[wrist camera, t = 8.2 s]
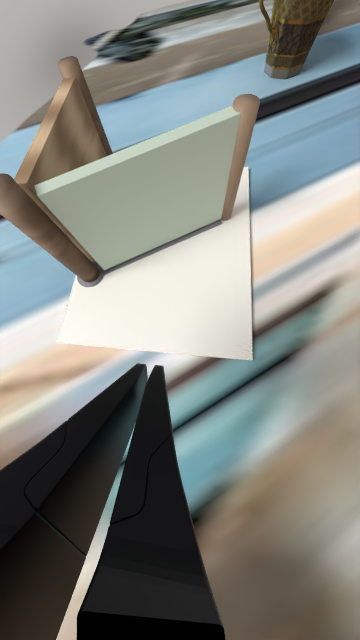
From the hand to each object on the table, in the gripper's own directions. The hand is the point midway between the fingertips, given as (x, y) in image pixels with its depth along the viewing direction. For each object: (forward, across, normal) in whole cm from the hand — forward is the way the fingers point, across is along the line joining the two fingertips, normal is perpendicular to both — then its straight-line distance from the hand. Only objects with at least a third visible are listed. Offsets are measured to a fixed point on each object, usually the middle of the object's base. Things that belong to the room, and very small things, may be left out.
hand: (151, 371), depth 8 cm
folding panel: (+18, +2, -5) cm, 19 cm away
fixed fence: (+20, +12, -7) cm, 25 cm away
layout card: (+18, +3, -4) cm, 19 cm away
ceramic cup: (+46, -14, -32) cm, 58 cm away
